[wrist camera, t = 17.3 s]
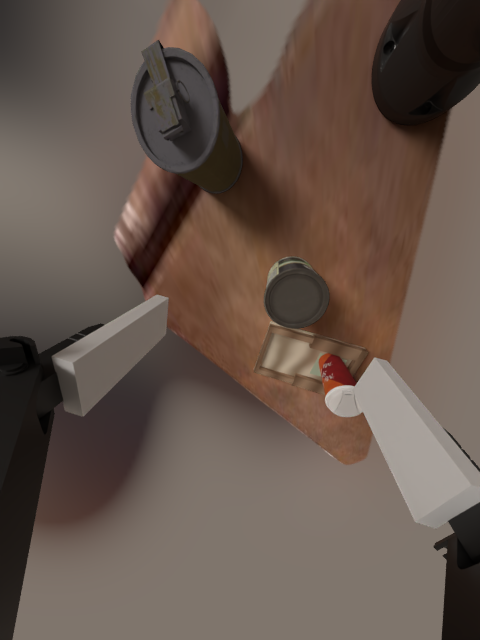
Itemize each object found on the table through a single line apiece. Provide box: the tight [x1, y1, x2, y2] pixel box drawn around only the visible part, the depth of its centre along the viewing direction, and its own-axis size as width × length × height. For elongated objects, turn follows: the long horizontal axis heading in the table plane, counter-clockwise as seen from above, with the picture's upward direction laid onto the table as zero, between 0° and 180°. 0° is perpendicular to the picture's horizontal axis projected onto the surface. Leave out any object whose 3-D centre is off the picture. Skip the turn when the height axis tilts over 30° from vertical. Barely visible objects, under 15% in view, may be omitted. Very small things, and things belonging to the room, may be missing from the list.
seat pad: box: [310, 353, 347, 376], centre depth 52 cm, size 7×7×1 cm
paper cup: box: [319, 353, 363, 417], centre depth 45 cm, size 8×8×14 cm
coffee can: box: [264, 256, 329, 329], centre depth 39 cm, size 10×10×14 cm
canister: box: [131, 40, 243, 194], centre depth 29 cm, size 11×10×20 cm
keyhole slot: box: [254, 321, 369, 395], centre depth 52 cm, size 24×16×2 cm, turn 76°
